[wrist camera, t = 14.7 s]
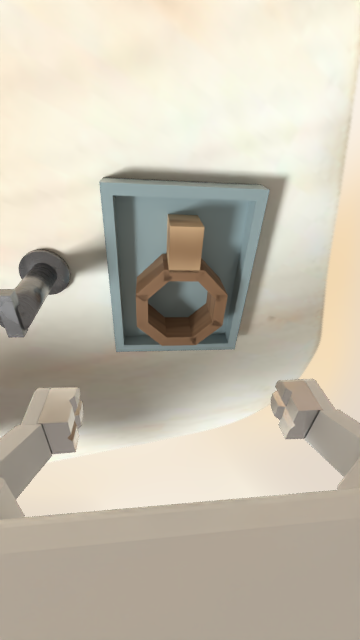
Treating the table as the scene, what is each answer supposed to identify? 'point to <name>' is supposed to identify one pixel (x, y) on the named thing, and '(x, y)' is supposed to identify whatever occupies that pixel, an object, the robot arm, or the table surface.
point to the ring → (181, 266)
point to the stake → (32, 290)
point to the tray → (151, 241)
